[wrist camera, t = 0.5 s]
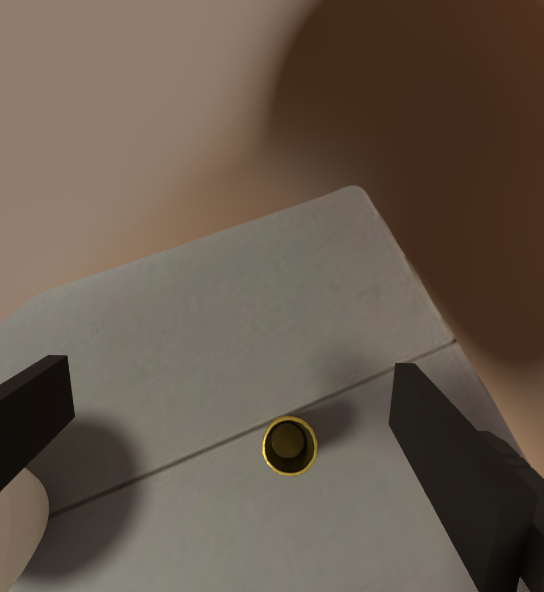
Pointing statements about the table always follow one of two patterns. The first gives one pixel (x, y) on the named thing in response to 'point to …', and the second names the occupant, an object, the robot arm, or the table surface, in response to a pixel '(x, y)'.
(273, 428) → the vase
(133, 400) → the table surface
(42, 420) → the robot arm
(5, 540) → the vase
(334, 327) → the table surface
